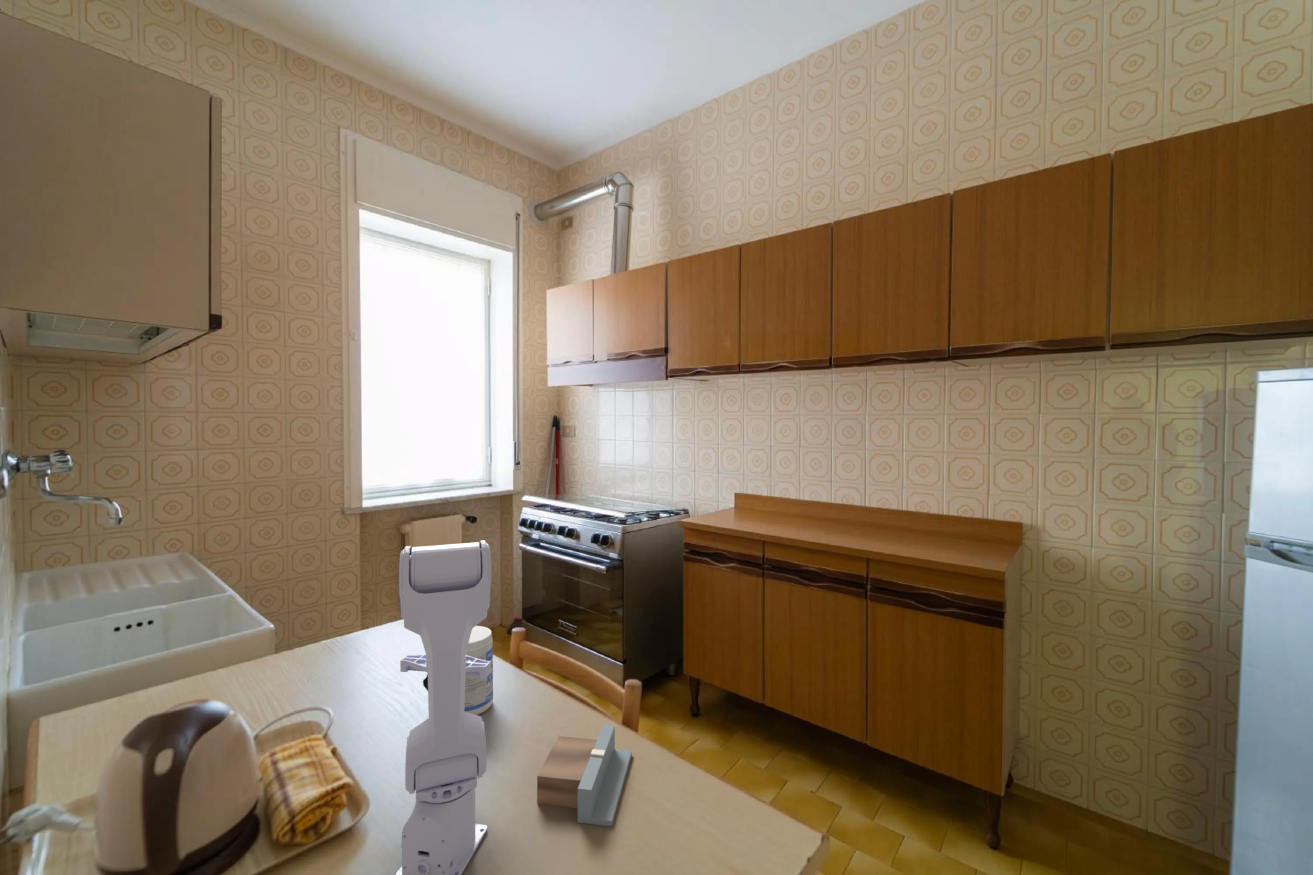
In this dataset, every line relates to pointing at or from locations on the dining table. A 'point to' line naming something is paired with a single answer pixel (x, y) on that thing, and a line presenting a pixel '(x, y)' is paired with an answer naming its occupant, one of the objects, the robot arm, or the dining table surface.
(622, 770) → the board
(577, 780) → the walnut block
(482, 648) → the supplement tub
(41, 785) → the dining table surface
